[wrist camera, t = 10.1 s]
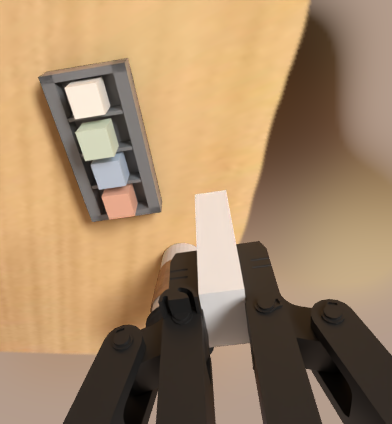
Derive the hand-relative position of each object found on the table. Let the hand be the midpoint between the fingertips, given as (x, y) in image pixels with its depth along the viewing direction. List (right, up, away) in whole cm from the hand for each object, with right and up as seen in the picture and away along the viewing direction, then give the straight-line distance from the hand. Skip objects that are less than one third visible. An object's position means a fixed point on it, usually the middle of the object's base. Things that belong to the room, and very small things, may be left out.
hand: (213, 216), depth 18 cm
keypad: (-11, +8, +26) cm, 29 cm away
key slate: (-11, +6, +26) cm, 29 cm away
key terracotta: (-10, +2, +28) cm, 30 cm away
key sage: (-11, +9, +22) cm, 27 cm away
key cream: (-12, +13, +21) cm, 28 cm away
